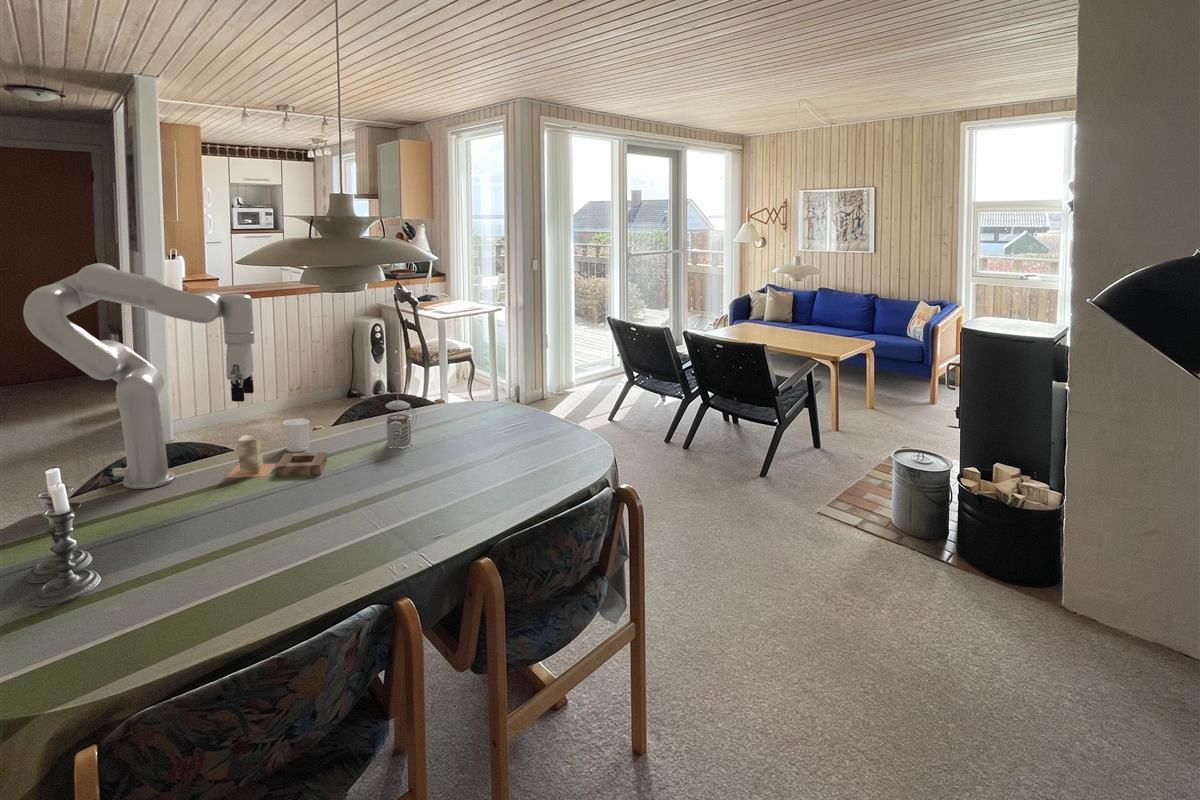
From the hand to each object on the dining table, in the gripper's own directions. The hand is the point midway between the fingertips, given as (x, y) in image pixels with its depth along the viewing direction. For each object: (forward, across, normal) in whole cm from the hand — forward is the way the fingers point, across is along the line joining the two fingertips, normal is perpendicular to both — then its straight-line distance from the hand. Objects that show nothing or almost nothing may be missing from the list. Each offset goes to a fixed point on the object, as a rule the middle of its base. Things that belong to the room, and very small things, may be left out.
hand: (243, 397), depth 207 cm
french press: (+22, -25, +42) cm, 54 cm away
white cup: (+23, -20, +10) cm, 32 cm away
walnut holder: (+23, 0, +15) cm, 28 cm away
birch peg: (+22, 0, +1) cm, 22 cm away
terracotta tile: (+23, 0, +1) cm, 23 cm away
